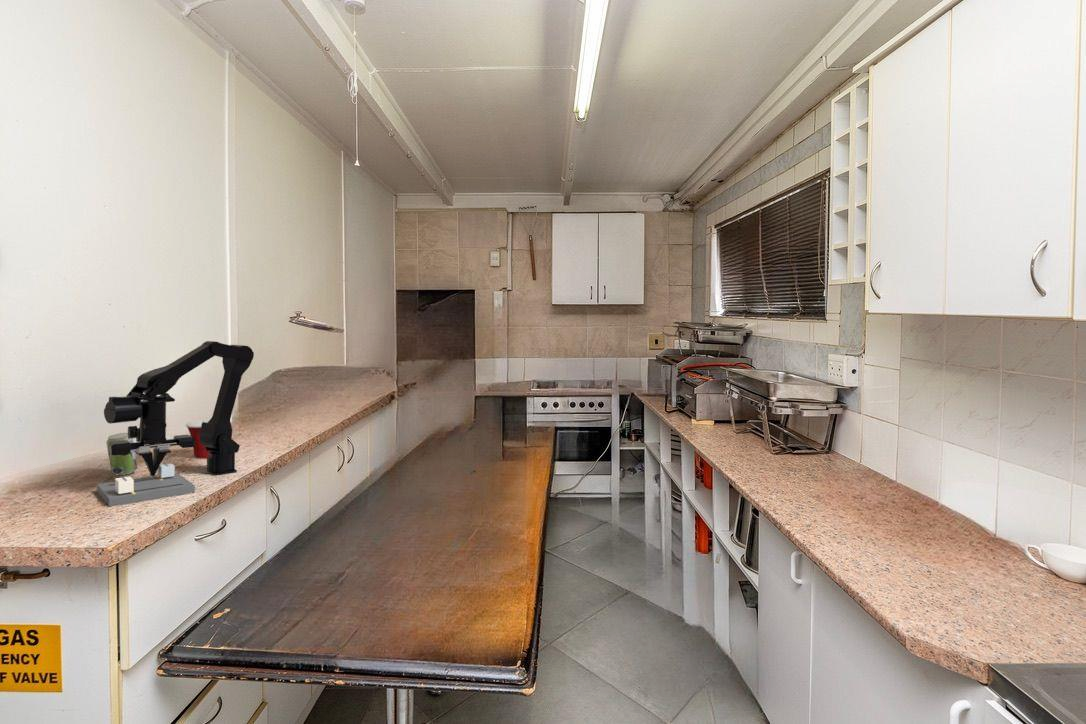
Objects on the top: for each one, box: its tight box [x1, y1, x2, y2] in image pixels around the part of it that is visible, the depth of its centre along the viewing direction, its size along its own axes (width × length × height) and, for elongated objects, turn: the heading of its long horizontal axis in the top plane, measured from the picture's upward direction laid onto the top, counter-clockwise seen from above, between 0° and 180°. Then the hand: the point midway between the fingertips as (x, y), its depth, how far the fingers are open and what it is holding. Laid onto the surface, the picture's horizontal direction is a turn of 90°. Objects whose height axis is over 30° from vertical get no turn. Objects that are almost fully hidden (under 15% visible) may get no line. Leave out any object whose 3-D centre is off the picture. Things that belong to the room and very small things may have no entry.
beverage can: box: [106, 432, 138, 476], centre depth 157 cm, size 6×7×12 cm
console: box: [96, 472, 196, 508], centre depth 142 cm, size 18×16×2 cm
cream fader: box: [114, 476, 134, 494], centre depth 135 cm, size 3×4×3 cm
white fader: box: [157, 462, 175, 478], centre depth 150 cm, size 3×4×3 cm
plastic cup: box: [185, 418, 211, 459], centre depth 182 cm, size 11×11×12 cm
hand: (152, 475), depth 147 cm, fingers closed
